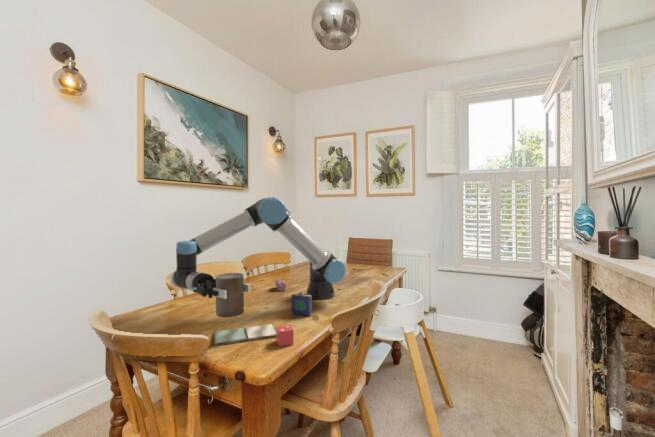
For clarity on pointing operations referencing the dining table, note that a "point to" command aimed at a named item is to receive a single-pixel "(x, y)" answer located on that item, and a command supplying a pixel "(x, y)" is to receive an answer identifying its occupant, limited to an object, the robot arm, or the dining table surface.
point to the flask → (301, 304)
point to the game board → (244, 334)
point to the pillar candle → (230, 295)
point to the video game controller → (280, 285)
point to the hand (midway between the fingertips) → (237, 291)
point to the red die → (284, 335)
